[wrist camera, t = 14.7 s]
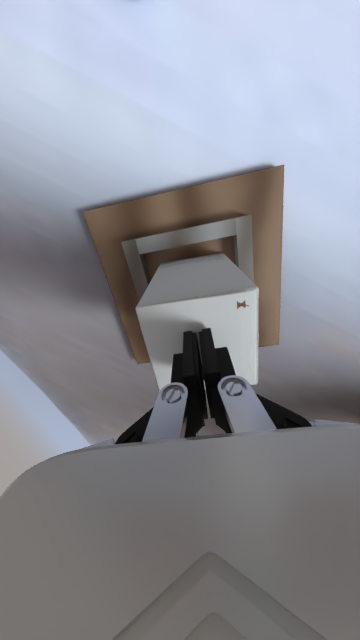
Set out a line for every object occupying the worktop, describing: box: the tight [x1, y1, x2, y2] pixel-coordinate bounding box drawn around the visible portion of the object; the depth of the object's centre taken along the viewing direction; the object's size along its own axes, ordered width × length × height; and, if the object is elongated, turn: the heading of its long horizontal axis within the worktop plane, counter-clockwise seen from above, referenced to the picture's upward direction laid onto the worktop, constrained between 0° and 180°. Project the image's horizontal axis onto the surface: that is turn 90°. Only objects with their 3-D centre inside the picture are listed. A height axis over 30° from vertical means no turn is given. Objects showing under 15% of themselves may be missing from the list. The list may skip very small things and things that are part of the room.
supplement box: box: [136, 253, 259, 391], centre depth 18 cm, size 7×7×13 cm
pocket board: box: [83, 165, 284, 364], centre depth 24 cm, size 20×20×3 cm
